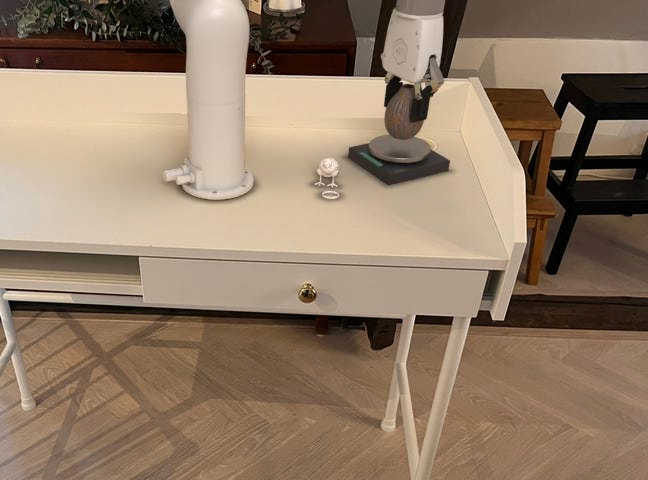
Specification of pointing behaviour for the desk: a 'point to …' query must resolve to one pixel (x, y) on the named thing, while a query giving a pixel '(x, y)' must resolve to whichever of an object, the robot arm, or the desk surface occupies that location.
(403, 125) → the vase
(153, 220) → the desk surface
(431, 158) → the scale
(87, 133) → the desk surface
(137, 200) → the desk surface
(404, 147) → the scale pan
